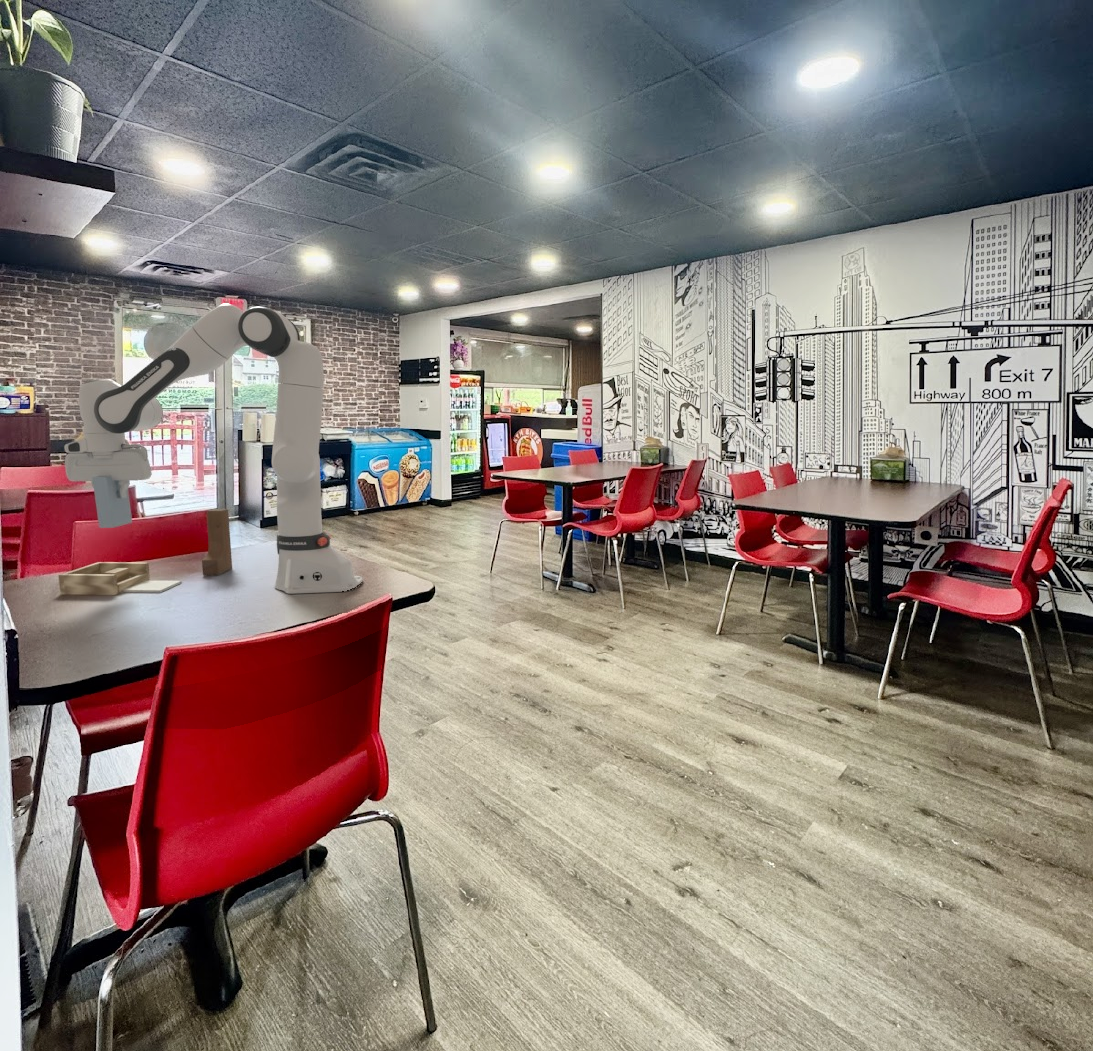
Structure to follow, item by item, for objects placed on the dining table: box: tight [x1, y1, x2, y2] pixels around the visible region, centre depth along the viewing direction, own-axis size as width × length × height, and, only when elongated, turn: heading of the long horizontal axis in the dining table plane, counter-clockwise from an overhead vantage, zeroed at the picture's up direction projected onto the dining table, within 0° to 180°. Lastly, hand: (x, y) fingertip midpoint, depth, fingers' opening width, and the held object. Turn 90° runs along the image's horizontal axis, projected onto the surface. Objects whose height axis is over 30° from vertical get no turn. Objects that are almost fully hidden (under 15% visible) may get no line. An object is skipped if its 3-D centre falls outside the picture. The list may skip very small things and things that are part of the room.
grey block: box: [92, 476, 133, 529], centre depth 173 cm, size 4×8×13 cm, turn 179°
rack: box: [57, 561, 151, 596], centre depth 177 cm, size 14×15×5 cm
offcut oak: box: [104, 568, 130, 582], centre depth 177 cm, size 3×6×2 cm, turn 177°
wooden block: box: [201, 508, 233, 576], centre depth 193 cm, size 9×4×18 cm, turn 0°
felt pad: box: [122, 579, 182, 594], centre depth 177 cm, size 10×10×1 cm
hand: (112, 498), depth 173 cm, fingers closed on grey block, 3 cm apart
